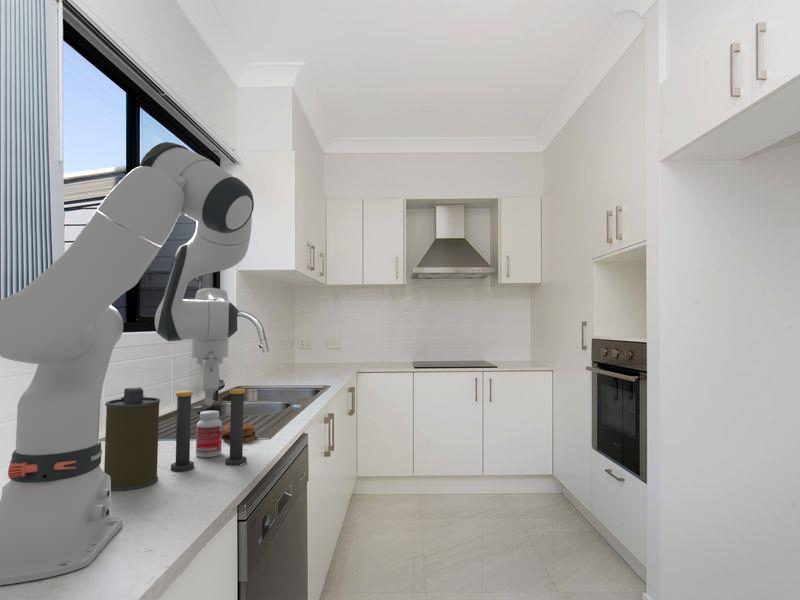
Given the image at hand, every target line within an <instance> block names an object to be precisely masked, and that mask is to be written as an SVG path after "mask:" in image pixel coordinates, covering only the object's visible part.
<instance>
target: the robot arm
mask: <svg viewBox="0 0 800 600" xmlns="http://www.w3.org/2000/svg"><path fill="white" fill-rule="evenodd" d="M253 195H254V194H253V193H252V190H251V189H250V187H249V186H248V185H246V184H245V182H244V181H242V180H241V179H240V178H238V177H236V176H233V175H232V174H230V173H229V172H228V171H226V170H225V169H224V168H222V167H221V166H219V165H217V164H216V163H215V162H214V161H212V160H211V159H209V158H207V157H205V156H204V155H201V154H199V153H197V152H194V151H193V150H190V149H189V148H188V147H186V146H184V145H181V144H178V143H175V142H169V141H164V142H160V143H158V144H156V145H154V146H153V147H151V148H150V149H148V151H147V152H146V153H145V154H144V156H143V157H142V160H141V162H140V164H139V166H137V167H135V168H133V169H131V171H130V172H128V173H127V174H126V175H125V176H124V177H123V178H122V179H121V180H120V181H119V182H118V183H117V184H116V185H115V186H114V187H113V188H112V189H111V190H110V191H109V193H108V194H107V195H106V196H105V198H103V200H102V202H101V203H100V204H99V206H98V207H97V208H96V210H95V212H94V213H93V215H91V218H89V220H88V222H87V223H86V224H85V226H84V227H83V228H82V230H81V231H80V233H79V234H78V235H77V237H76V238H75V240H74V241H73V242H72V244H71V245H70V246H69V247H68V248H67V249H66V251H65V252H64V253H63V254H62V255H61V256H60V257H59V258H58V259H57V260H56V261H54V262H53V263H52V264H51V265H50V266H49V267H48V268H47V269H45V270H44V271H43V272H42V273H41V274H40V275H39V276H37V277H36V278H35V279H33V280H32V281H31V282H30V283H29V284H28V285H26V286H25V287H23V288H22V289H21V290H19V291H17V292H15V293H14V294H11V295H9V296H6V297H5V298H3V299H1V300H0V357H1V358H4V359H7V360H10V361H16V362H19V363H24V364H25V363H26V364H32V365H37V368H36V370H35V372H34V375H33V378H32V380H31V382H30V384H29V386H28V387H27V388H26V390H25V391H23V393H22V394H21V396H20V398H19V400H18V402H17V410H16V412H17V413H16V433H15V434H16V435H15V450H13V452H12V454H11V458H10V461H9V466H8V471H7V476H8V478H9V479H10V480H9V481H8V482H7V483H5V485H3V486H2V489H1V497H0V586H3V585H13V584H17V583H18V584H20V583H25V582H26V583H27V582H31V581H36V580H37V581H38V580H41V579H47V578H51V577H55V576H60V575H63V574H67V573H71V572H73V571H77V570H79V569H82V568H85V567H87V566H88V565H90V564H91V563H92V562H93V560H94V559H95V558H96V557H97V556H98V554H99V553H101V551H102V550H103V549H104V548H105V546H106V545H107V544H108V543H109V542H110V540H111V539H113V538H114V537H115V534H117V532H119V530H120V529H121V528H122V527H123V520H122V518H120V517H115V516H112V490H111V478H110V476H109V475H108V474H106V473H105V472H104V469H102V468H101V466H100V465H101V463H102V454H103V449H102V442H101V441H100V440H99V436H100V417H101V413H100V411H101V399H102V398H101V397H102V391H103V387H104V382H105V379H106V376H107V371H108V367H109V365H110V360H111V357H112V354H113V351H114V349H115V346H116V345H117V343H118V342H119V341H120V339H121V338H122V335H123V332H124V319H123V318H122V315H121V313H120V312H119V310H118V309H116V307H114V306H113V305H112V304H113V303H115V302H116V301H117V300H118V299H120V297H121V296H122V295H124V294H125V293H126V292H127V291H130V290H131V289H132V288H134V287H135V286H136V285H137V284H138V283H139V281H140V280H141V278H142V277H143V275H144V274H145V273H146V271H147V270H148V268H149V267H150V265H151V264H152V262H153V261H154V259H155V258H156V256H157V255H158V253H159V252H160V250H161V248H162V247H163V245H164V244H165V243H166V241H167V239H168V238H169V236H170V234H171V232H172V231H173V229H174V226H175V225H176V223H177V221H178V218H179V217H181V216H182V215H184V216H186V217H188V218H189V219H191V220H193V221H195V222H196V225H195V232H194V234H193V236H192V238H190V240H189V241H188V242H187V243H184V244H182V245H180V246H179V247H178V248H177V250H176V253H175V255H174V258H173V260H172V263H171V266H170V270H169V274H168V277H167V281H166V284H165V288H164V291H163V295H162V298H161V299H160V303H159V304H158V306H157V307H158V308H157V309H156V312H155V316H154V327H155V331H156V333H157V335H158V336H160V337H161V338H163V339H164V340H166V341H167V342H168V343H169V342H177V341H178V342H180V341H191V343H192V344H191V358H192V359H196V365H199V373H200V380H201V386H202V387H201V388H202V391H203V392H204V395H205V396H204V405H206V406H212V405H213V404H214V395H215V394H214V393H215V392H216V391H218V390H219V389H220V388H219V387H220V386H219V385H220V384H219V383H220V365H222V364H223V363H224V358H228V357H229V339H230V338H231V337H232V336H233V335H235V333H236V332H238V330H239V329H238V317H239V315H238V313H239V309H238V308H237V307H236V306H235V305H234V304H233V303H232V302H230V301H229V297H228V292H227V291H226V290H224V289H221V288H220V287H219V288H218V287H205V288H200V289H198V290H197V291H196V293H195V297H194V299H184V297H185V294H186V291H187V287H188V284H189V283H190V282H191V281H192V280H194V279H196V278H198V277H200V276H204V275H207V274H211V273H217V272H222V271H226V270H229V269H231V268H233V267H235V266H237V265H238V264H239V263H240V262H241V261H242V260H244V258H245V257H246V254H247V253H248V248H249V245H250V240H251V233H252V224H253V223H252V222H253V216H252V214H253V211H254V208H255V207H254V206H255V201H254V196H253Z"/></svg>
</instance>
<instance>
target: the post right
mask: <svg viewBox="0 0 800 600" xmlns="http://www.w3.org/2000/svg"><path fill="white" fill-rule="evenodd" d="M229 394H230V422H229V424H230V442H229V456H228V457H227V458H225V460H224V461H225V462H224V464H225V466H228V465H238V466H241V465H240V464H243V463H245V464H247V463H246V462H248V459H247V456H245V455H244V454H243V453H244V452H243V451H244V450H243V446H244V445H243V444H244V443H243V423H244V404H245V403H244V402H245V399H244V398H245V394H246V389H245V388H233V389H229ZM243 465H244V464H243Z"/></svg>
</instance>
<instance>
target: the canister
mask: <svg viewBox="0 0 800 600" xmlns="http://www.w3.org/2000/svg"><path fill="white" fill-rule="evenodd" d="M160 402H161V399H160V398H158V397H151V396H150V397H148V396H147V397H146V396H145V395H144V389H143V388H142V387H131V388H130V387H128V388H124V391H123V396H122V397H120V398H116V399H112V400H109V401H106V402H105V406H106V412H105V413H106V414H105V439H104V441H105V443H104V444H105V445H104V463H103V464H104V468H103V471H104V472H105V473H106V474H108V475H109V476H110V478H111V491H114V492H118V491H120V492H121V491H123V492H124V491H129V490H130V491H131V490H138V489H142V488H145V487H149V486H151V485H153V484H154V483H156V482H158V480H159V477H158V453H159V425H160V424H159V423H160Z"/></svg>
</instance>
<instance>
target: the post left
mask: <svg viewBox="0 0 800 600" xmlns="http://www.w3.org/2000/svg"><path fill="white" fill-rule="evenodd" d="M193 394H194V392H193V391H192V390H181V391H176V392H175V397H177V398H176V399H177V400H176V429H175V431H176V432H175V433H176V434H175V435H176V436H175V437H176V439H175V462H172V463H171V464H170V470H171V471H172V472H185V471H190V470H192V469H194V468H195V462H194V461H192V460H190V458H191V457H190V455H191V453H190V451H191V450H190V449H191V419H192V416H191V415H192V396H193Z"/></svg>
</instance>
